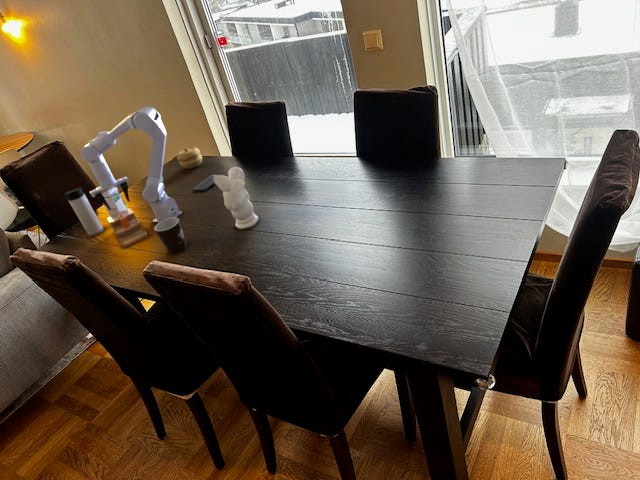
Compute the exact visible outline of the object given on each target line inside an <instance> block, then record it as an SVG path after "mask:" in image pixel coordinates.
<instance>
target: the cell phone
mask: <svg viewBox="0 0 640 480" xmlns="http://www.w3.org/2000/svg"><path fill="white" fill-rule="evenodd" d="M214 175H215V174H211V175H210V176H209V177H207V178H206V179H204V180H203V181H201V182H200V183H199V184H197V185H196V186H194V188H193V190H194V191H207V190H208V189H210V188H212V186H214V185H216V184H215V182H213V180H214V179H213V177H214ZM217 175H218V176H220V175H221V174H217Z"/></svg>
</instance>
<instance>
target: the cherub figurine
mask: <svg viewBox="0 0 640 480" xmlns="http://www.w3.org/2000/svg"><path fill="white" fill-rule="evenodd" d="M213 175H214V177H213V179H214V180H213V182H215V184H214V185H216V186H217V187H218V189H219V190H221V191H222V196H223V200H224V202H223V204H224V206H225V208H226V209H227V210H228V211H230V213H231V215H232V217H233V219H235V225H234V226H235V227H236V228H237V229H239V230H245V229H249V228H251V227H254V226H255V225H256V224H257V223H258V222H259V216H258V215H257V214H255V212H254V206H253V204H252V202H251V201H250V200H251V197H250V194H249V192H248V191H247V190H246V188H245V183H246V182H245V180H246V177H245V172H244V170H243V169H242V168H241V167H238V166H234V167H233V166H232V167H231V168H229V169H228V176H227V175H224V174H213ZM218 175H220V176H218Z"/></svg>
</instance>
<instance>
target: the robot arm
mask: <svg viewBox="0 0 640 480" xmlns="http://www.w3.org/2000/svg"><path fill="white" fill-rule="evenodd" d="M130 129H131V130H137V129H139V131H142V132H144V133H145V134H146V135H148V136H149V137H150V138H151V143H150V152H149V163H148V175H147V179H146V183H145V188H144V189H143V191H142V198H143V199H144V201H146V202H148V204H149V206H150V208H151V210H152V212H153V214H154V216H155V218H154V219H153V220H152V223H159V222H161V221H163V220H165V219H168V218H176V217H177V218H179V216H180V215H182V213H183V211H181V210H180V208H179V206H178V204H177V202H176V200H175V198H173V197H170V196H168V195H167V193H166V192H165V184H164V177H163V169H164V162H165V161H164V160H165V153H166V143H167V135H168V134H167V131H166V127H165V125H164V124H163V122H162V119H161V114H160V113H159V112H158V111H157V110H156V109H155V108H154V107H153V106H150V105H144V106H142V107H141V108H140V109H137V110H136V111H134V112H132V113H130V114H129V115H127V116H126V117H125V118H124V119H123V120H122V121H121V122H119V123H118V124H117V125H116V126H115V127H113V128H112V129H111V130H110V131H107V130H104V131H99V132H98V133H97V134H96V137H95V138H93V139H90V140H89V141H88V142H87V144H85V146H84V147H82V149H81V150H80V157H81V158H82V160H84V162H87V164H88V166H89V167H90V170H91V172H92V174H93V175H94V177H95V179H96V180H97V183H98V185H99V186H98V187H96V188H94V189H92V190H89V194H90V195H91V197H92V198H96V199H97V200H98V201H100V202H101V203H102V204H105V205H106V207H107V208H108V209H109V210H111V208H110V207H109V205H108V204H107V202H106V200H105V198H104V196H103V195H102V193H103V192H105V191H108V190H110V189H112V188H115V187H117V188H118V187H120V189H121V191H122V193H123V195H124V197H125V199H126V201H127V202H128V203H130V202H131V200H130V196H129V184H128V183H130V179H129V178H128V176H124V177H121V178H118V179H115V177H114V174H112V173H113V172H112V171H111V169H110V168H109V165H108V163H107V161H106V159H105V158H104V156H103V154H105V153H106V152H107V151H109V150H110V149H111V148H113V147H114V146H115V145H116V144H117V139H118V138H119V137H120V136H122V135H123V134H124V133H126V132H127V131H128V130H130Z"/></svg>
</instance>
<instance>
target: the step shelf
mask: <svg viewBox="0 0 640 480" xmlns="http://www.w3.org/2000/svg"><path fill="white" fill-rule="evenodd" d="M121 213H122V214H124V215H125V217H126V218H127V220H128V222H129V224H130V227H128V228H126V229H124V227H123V226H122V224H121V222H120V220H119V218H118V215H119V216H121V215H122V214H121ZM106 220H107V221H108V223H109V225H110V227H111V229H112V231H113V232H114V234H115V235H116V238H117V239H118V241H119V243H120V244H121V246H122V248H123V249H126V248H128V247H130V246H133V245H134V244H135V245H136V243H138V242H141V241H144V240H145V239H147V238H149V235H148V233H147V231H145V229H144V227H143V226H142V224H141V222H140V221H139V219H138V218H137V216H136V214H135V212H134V210H132V208H131V207H129V208H128V209H126V210H124V211H122V212H119V213H117V214H115V215H113V216H110V215H109V216H108V217H106Z"/></svg>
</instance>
